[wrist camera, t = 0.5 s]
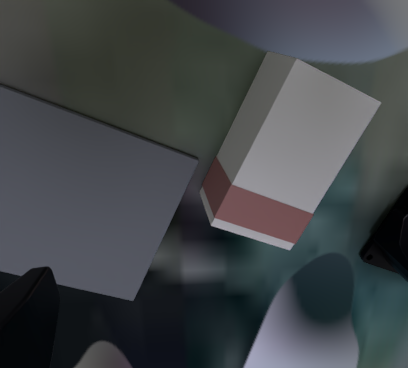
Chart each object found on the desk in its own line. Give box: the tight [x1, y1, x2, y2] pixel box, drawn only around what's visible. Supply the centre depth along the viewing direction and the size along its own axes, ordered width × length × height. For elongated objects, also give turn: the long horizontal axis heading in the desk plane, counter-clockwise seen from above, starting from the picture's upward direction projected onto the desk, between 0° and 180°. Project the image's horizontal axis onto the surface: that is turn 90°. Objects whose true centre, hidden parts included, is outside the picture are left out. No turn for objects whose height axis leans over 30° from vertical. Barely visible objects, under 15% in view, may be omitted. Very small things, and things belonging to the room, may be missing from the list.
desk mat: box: [0, 84, 199, 301], centre depth 21 cm, size 13×11×1 cm
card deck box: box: [200, 51, 382, 250], centre depth 20 cm, size 5×9×4 cm, turn 155°
